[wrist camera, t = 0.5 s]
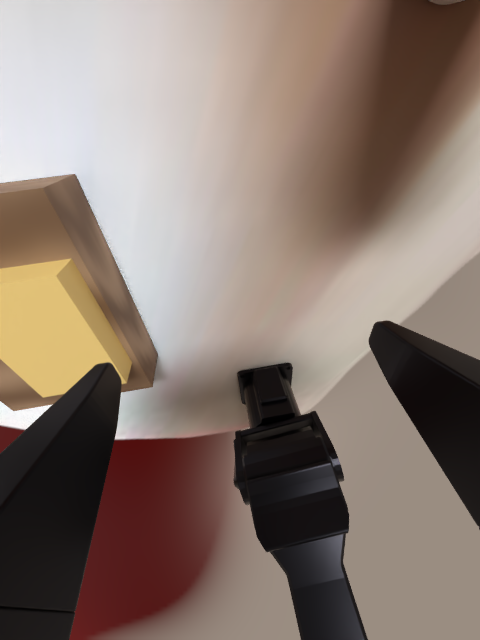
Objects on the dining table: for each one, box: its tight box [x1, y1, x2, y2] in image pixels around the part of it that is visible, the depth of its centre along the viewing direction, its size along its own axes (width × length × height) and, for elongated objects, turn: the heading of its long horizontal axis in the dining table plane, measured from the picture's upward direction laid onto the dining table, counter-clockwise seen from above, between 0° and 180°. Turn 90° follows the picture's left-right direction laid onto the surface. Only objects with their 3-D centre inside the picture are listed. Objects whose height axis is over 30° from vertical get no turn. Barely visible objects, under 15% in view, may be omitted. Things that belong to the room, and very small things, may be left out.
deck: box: [0, 174, 158, 411], centre depth 18 cm, size 16×12×4 cm
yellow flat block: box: [0, 259, 132, 398], centre depth 15 cm, size 9×6×2 cm, turn 5°
